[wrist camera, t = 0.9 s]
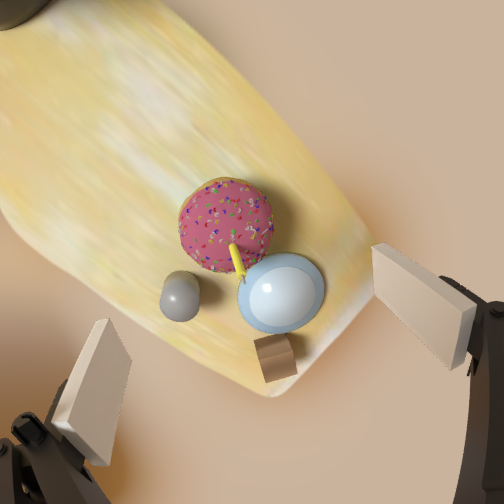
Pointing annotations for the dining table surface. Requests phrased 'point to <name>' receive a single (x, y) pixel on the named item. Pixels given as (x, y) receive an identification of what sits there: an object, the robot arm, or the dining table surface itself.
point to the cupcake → (226, 226)
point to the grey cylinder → (180, 296)
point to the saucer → (280, 293)
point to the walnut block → (275, 357)
